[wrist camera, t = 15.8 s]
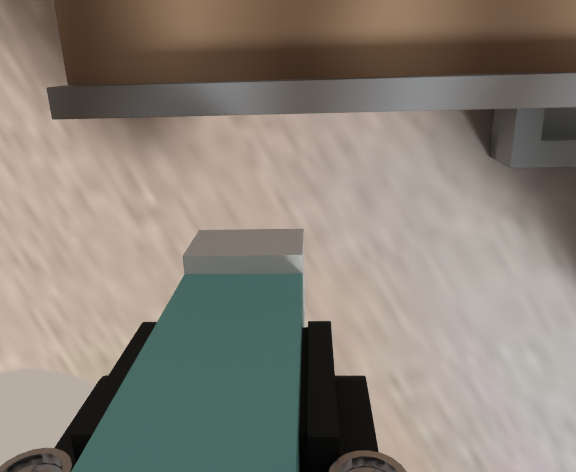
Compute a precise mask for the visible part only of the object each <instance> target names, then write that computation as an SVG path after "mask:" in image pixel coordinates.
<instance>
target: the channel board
mask: <svg viewBox="0 0 576 472" xmlns="http://www.w3.org/2000/svg"><path fill="white" fill-rule="evenodd" d="M54 2H55V8H56V14H57V20H58V26H59V33H60V39H61V45H62V51H63V57H64V63H65V69H66V76H67V82H68V85H67V86H58V87H48V88H47V93H48V98H49V104H50V110H51V115H52V119H91V118H133V117H176V116H218V115H261V114H303V113H346V112H388V111H430V110H473V109H515V108H558V107H576V0H54Z"/></svg>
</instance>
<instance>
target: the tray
mask: <svg viewBox="0 0 576 472" xmlns="http://www.w3.org/2000/svg"><path fill="white" fill-rule="evenodd" d="M489 156H490V157H492V158H493V159H495V160H497V161H499V162H501V163H502V164H504V165H506V166H508V167H510V168H536V167H576V107H558V108H515V109H494V114H493V124H492V134H491V143H490V153H489Z"/></svg>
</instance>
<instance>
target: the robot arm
mask: <svg viewBox="0 0 576 472" xmlns="http://www.w3.org/2000/svg"><path fill="white" fill-rule="evenodd" d="M156 323H157V322H143V323H142V324H141V326H140V327H139V329H138V330H137V332H136V333H135V335H134V337H133V338H132V340H131V341H130V343H129V344H128V346H127V347H126V349H125V351H124V352H123V354H122V355H121V357H120V358H119V360H118V361H117V363H116V365H115V366H114V368H113V369H112V371H111V372H110V374H109V375H108V376H103V377H102V378H101V379H100V380H99V381H98V383H97V384H96V386H95V387H94V389H93V391H92V392H91V393H90V395H89V396H88V398H87V400H86V401H85V402H84V404H83V405H82V407H81V409H80V410H79V412H78V413H77V415H76V416H75V418H74V419H73V421H72V422H71V424H70V425H69V427H68V428H67V430H66V431H65V433H64V434H63V436H62V437H61V439H60V440H59V442H58V443H57V445H56V447H55V448H41V449H34V450H31V451H27V452H25V453H22V454H19V455H17V456H15V457H14V458H12V459H10V460H8V461H6V462H5V463H4V464H3V465H2V466H0V472H71V471H72V470H73V468H74V466H75V464H76V463H77V461H78V459H79V457H80V456H81V454H82V452H83V450H84V449H85V447H86V445H87V443H88V442H89V440H90V438H91V437H92V435H93V433H94V431H95V430H96V428H97V426H98V424H99V423H100V421H101V419H102V417H103V416H104V414H105V412H106V410H107V409H108V407H109V405H110V403H111V402H112V400H113V398H114V397H115V395H116V393H117V391H118V390H119V388H120V386H121V384H122V383H123V381H124V379H125V377H126V376H127V374H128V372H129V370H130V369H131V367H132V365H133V363H134V362H135V360H136V358H137V356H138V355H139V353H140V351H141V350H142V348H143V346H144V344H145V343H146V341H147V339H148V337H149V336H150V334H151V332H152V330H153V329H154V327H155V325H156ZM299 470H300V472H406V471H405V469H404V468H403V467H402V465H401V464H399V463H398V462H397V461H396V460H394V459H393V458H392V457H389V456H387V455H385V454H382V453H379V452H378V446H377V440H376V434H375V428H374V423H373V417H372V411H371V405H370V399H369V394H368V388H367V382H366V377H365V376H335V373H334V360H333V346H332V333H331V321H308V327H302V350H301V381H300V411H299Z"/></svg>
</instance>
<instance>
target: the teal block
mask: <svg viewBox="0 0 576 472" xmlns="http://www.w3.org/2000/svg"><path fill="white" fill-rule="evenodd" d="M183 264H184V273H185V275H184V276H183V278H182V280H181V282H180V283H179V285H178V287H177V289H176V290H175V292H174V294H173V296H172V297H171V299H170V301H169V303H168V304H167V306H166V308H165V310H164V311H163V313H162V315H161V316H160V318H159V320H158V322H157V323H156V325H155V327H154V329H153V330H152V332H151V334H150V336H149V337H148V339H147V341H146V343H145V344H144V346H143V348H142V350H141V351H140V353H139V355H138V356H137V358H136V360H135V362H134V363H133V365H132V367H131V369H130V370H129V372H128V374H127V376H126V377H125V379H124V381H123V383H122V384H121V386H120V388H119V390H118V391H117V393H116V395H115V397H114V398H113V400H112V402H111V403H110V405H109V407H108V409H107V410H106V412H105V414H104V416H103V417H102V419H101V421H100V423H99V424H98V426H97V428H96V430H95V431H94V433H93V435H92V437H91V438H90V440H89V442H88V443H87V445H86V447H85V449H84V450H83V452H82V454H81V456H80V457H79V459H78V461H77V463H76V464H75V466H74V468H73V470H72V471H71V472H300V470H299V411H300V381H301V350H302V327H305V278H304V229H257V230H199V231H198V233H197V235H196V236H195V238H194V239H193V241H192V242H191V244H190V246H189V247H188V249H187V250H186V252H185V253H184V255H183Z"/></svg>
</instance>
